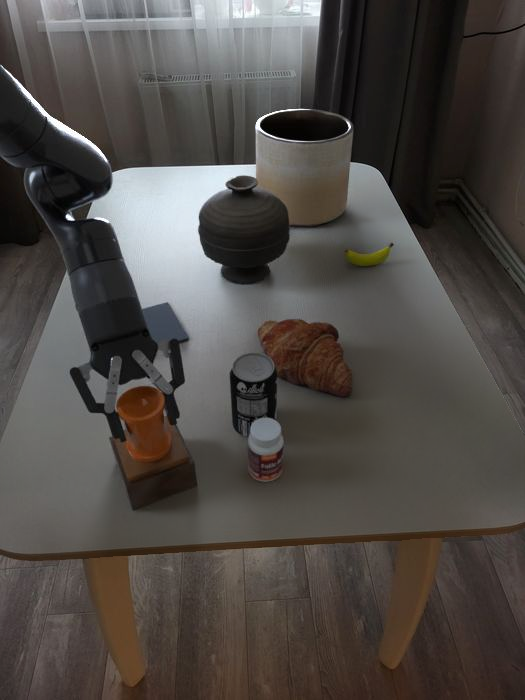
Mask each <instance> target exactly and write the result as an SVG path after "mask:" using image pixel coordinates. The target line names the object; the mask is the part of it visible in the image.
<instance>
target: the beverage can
mask: <svg viewBox="0 0 525 700" xmlns="http://www.w3.org/2000/svg"><path fill="white" fill-rule="evenodd" d="M229 388H230V404H231V405H230V407H231V423H232V427H233V429H234V431H235V432H236V433H237V434H238V435H240V436H241V437H244V438H246V439H248V437H249V435H250V428H251V425H252V423H253V422H254V421H256V420H257V419H260V418H271V419H274V420H276V421H277V417H278V416H277V413H278V411H277V410H278V409H277V408H278V378H277V370H276V368H275V367H274V363H273V361H272V359H271V358H270V357H269V356H267V355H266V354H265V353H261V352H256V351H255V352H251V351H250V352H245V353H243V354H241V355H240V354H239V356H237V357H236V358H235V359H234V360H233V362H232V366H231V369H230V371H229Z"/></svg>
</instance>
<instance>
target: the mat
mask: <svg viewBox="0 0 525 700" xmlns="http://www.w3.org/2000/svg"><path fill="white" fill-rule="evenodd" d="M142 311H143V314H144V317H145V320H146V323H147V326H148V329H149V332H150V335H151V336H152V338H153V339H154V340H155V341H156V342H162V341H170V340H171V339H173V338H175V339H177V340H178V341H179V344H180V343H184V342H187V341H190V337H189V334H188V333H187V331H186V330H185V328H184V327H183V325H182V322H180V320H179V318H178V317H177V315H176V313H175V311H174V310H173V308H172V307H171V305H170V303H169V302H168V301H167V302H163V303H159V304H155V305H152V306H148V307H143V308H142Z"/></svg>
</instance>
